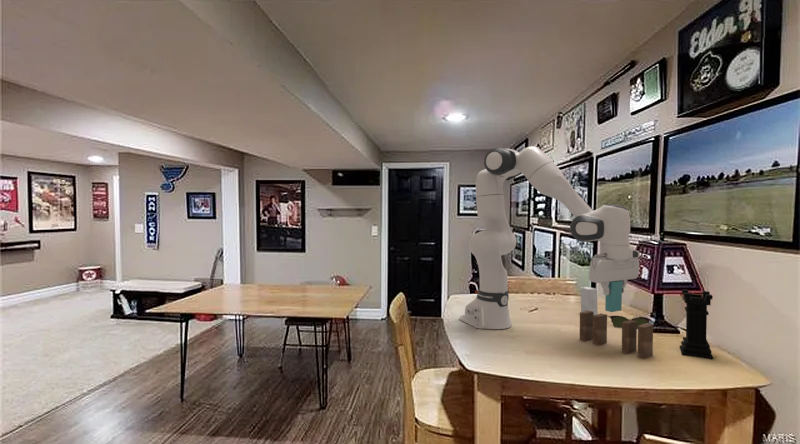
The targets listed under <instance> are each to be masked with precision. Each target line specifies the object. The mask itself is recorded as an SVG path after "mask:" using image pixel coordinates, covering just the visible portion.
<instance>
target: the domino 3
mask: <svg viewBox="0 0 800 444" xmlns="http://www.w3.org/2000/svg"><path fill="white" fill-rule="evenodd" d="M608 287H609V289H610V290H611V294H610V295H605V302H604V303H605V312H609V313H614V312H615V313H616V312H619V311H620V312H621V311H622V302H623V301H622V300H623V297H622V296H623V293H622V281H612V282H609V285H608Z"/></svg>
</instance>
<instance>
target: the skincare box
mask: <svg viewBox="0 0 800 444" xmlns="http://www.w3.org/2000/svg"><path fill="white" fill-rule="evenodd" d="M579 289H580V291H579V292H580V312H583V311H587V310H588V311H593V312H594V314H593V315H597V314H599V313H598V312H599V311H598V288H595V287H590V286H581V287H580V288H579Z"/></svg>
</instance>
